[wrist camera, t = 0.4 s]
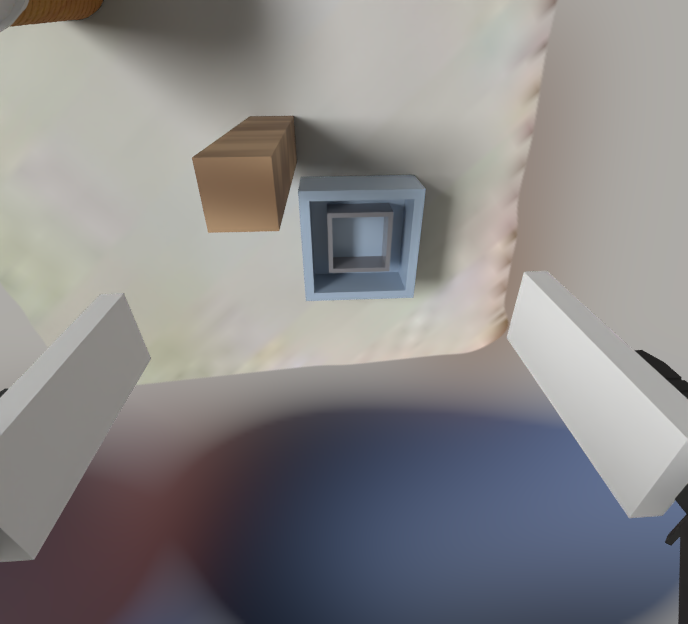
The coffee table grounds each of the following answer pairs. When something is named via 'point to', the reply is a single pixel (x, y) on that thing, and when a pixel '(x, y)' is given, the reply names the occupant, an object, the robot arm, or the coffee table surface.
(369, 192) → the light blue square bin
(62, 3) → the disposable coffee cup
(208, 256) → the coffee table surface
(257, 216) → the long wooden beam
